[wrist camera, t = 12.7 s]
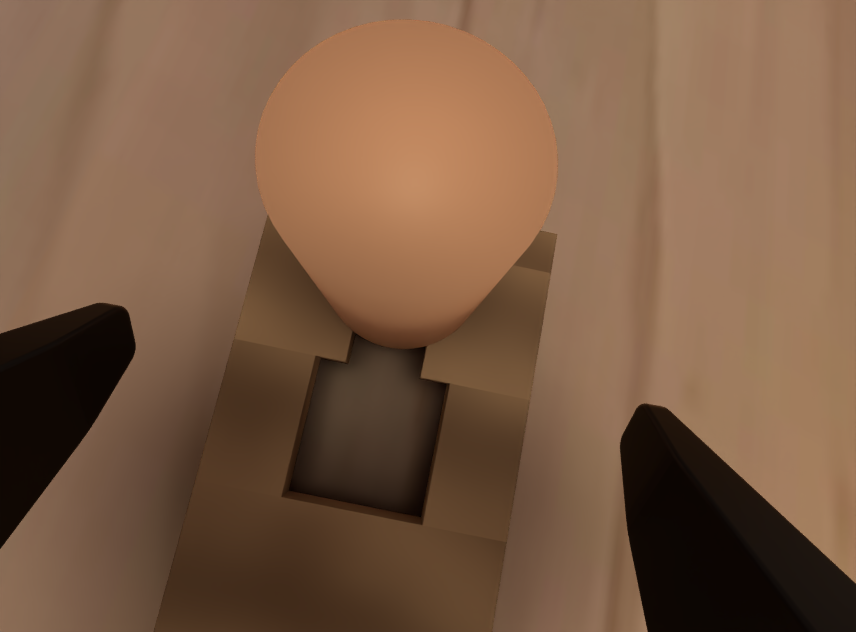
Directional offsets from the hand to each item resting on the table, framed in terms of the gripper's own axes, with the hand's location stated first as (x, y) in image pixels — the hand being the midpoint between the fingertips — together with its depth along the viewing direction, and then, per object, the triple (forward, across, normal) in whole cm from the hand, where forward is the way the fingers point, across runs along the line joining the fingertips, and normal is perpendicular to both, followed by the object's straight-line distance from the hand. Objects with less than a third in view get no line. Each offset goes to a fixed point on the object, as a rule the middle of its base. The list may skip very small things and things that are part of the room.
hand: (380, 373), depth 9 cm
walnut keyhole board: (+8, +1, +11) cm, 14 cm away
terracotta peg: (+12, +1, +5) cm, 13 cm away
